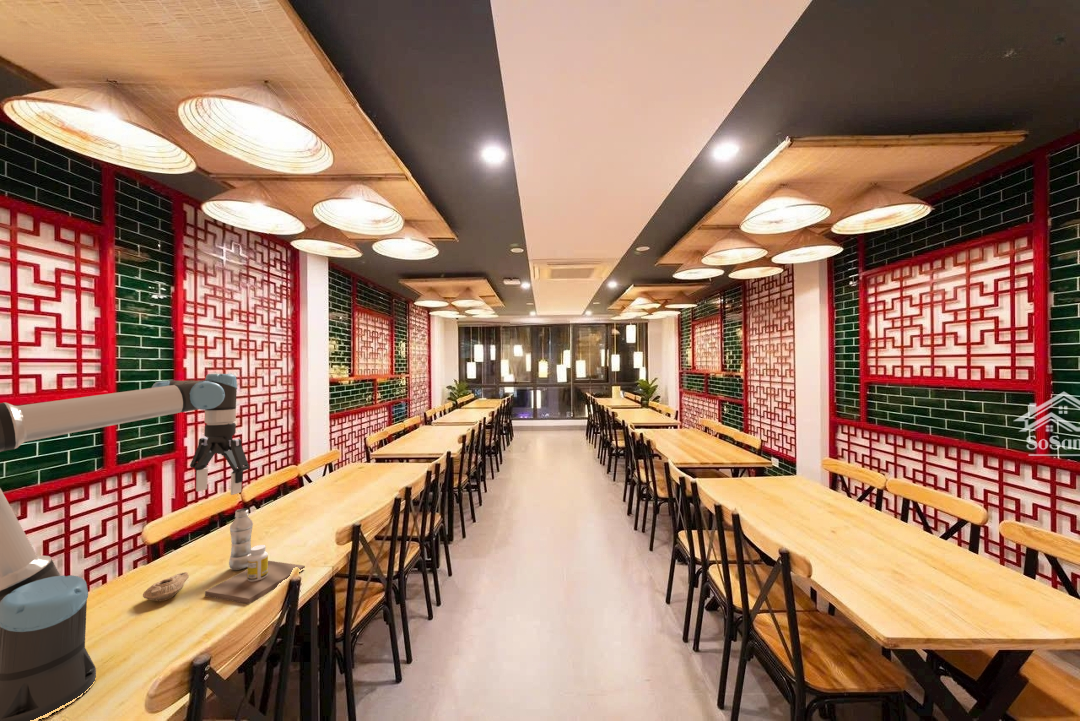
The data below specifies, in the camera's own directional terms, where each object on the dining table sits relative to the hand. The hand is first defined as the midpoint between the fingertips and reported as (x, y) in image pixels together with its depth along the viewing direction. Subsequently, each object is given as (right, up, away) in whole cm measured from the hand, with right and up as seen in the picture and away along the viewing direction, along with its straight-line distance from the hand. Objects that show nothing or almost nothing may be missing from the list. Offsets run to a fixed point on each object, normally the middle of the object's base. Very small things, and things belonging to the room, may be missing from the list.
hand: (218, 491), depth 119 cm
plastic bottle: (-5, -32, +16) cm, 36 cm away
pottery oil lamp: (-15, -32, 0) cm, 35 cm away
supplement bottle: (+7, -31, +7) cm, 32 cm away
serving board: (+7, -32, +7) cm, 33 cm away
